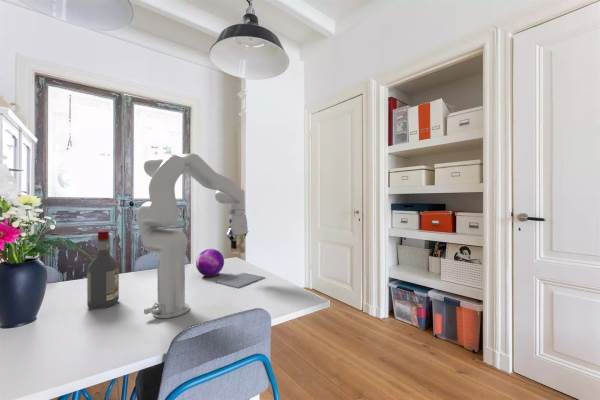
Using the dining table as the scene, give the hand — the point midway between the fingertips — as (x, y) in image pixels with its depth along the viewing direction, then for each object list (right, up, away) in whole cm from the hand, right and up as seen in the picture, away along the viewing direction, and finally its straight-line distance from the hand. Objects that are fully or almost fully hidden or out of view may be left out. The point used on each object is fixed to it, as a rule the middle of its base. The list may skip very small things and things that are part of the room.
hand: (237, 247), depth 140 cm
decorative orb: (-18, -18, +11) cm, 28 cm away
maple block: (0, -3, 0) cm, 3 cm away
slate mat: (+1, -18, +3) cm, 18 cm away
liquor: (-48, -19, -30) cm, 60 cm away
